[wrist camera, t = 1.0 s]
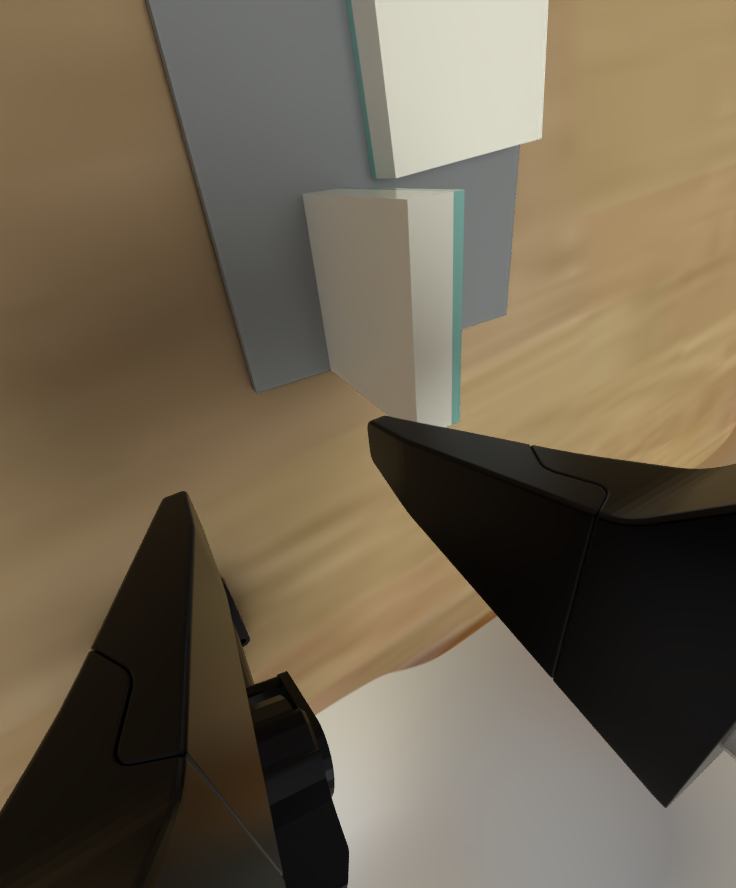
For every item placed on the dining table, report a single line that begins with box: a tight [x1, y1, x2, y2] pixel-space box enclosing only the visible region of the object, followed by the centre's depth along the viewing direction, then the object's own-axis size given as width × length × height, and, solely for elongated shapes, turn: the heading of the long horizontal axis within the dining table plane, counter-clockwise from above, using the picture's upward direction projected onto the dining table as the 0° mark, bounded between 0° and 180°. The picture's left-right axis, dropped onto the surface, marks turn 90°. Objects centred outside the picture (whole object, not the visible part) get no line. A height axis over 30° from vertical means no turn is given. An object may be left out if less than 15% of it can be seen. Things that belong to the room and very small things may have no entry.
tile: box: [302, 187, 465, 428], centre depth 18 cm, size 8×2×8 cm, turn 6°
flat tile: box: [346, 0, 548, 179], centre depth 17 cm, size 8×8×2 cm
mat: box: [145, 0, 520, 393], centre depth 20 cm, size 16×16×1 cm
